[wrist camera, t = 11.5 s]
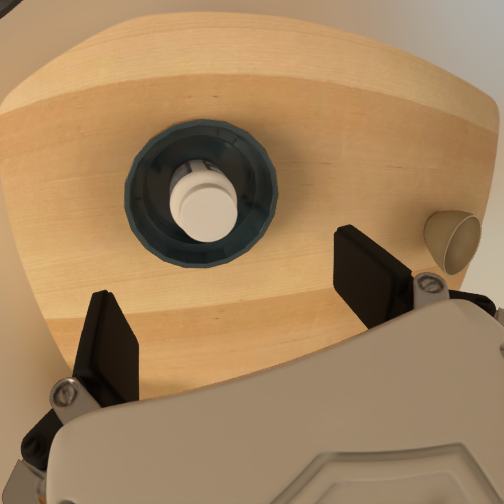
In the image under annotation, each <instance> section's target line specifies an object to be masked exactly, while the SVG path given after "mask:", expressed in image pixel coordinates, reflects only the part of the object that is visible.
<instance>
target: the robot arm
mask: <svg viewBox="0 0 504 504" xmlns="http://www.w3.org/2000/svg"><path fill="white" fill-rule="evenodd" d="M411 272H412V271H411V270H410V269H409V268H407V267H406V266H405V265H404V264H402V263H401V262H400V261H399V260H397V259H396V258H395V257H394V256H392V255H391V254H390V253H389V252H387V251H386V250H385V249H383V248H382V247H381V246H379V245H378V244H377V243H375V242H374V241H373V240H371V239H370V238H369V237H367V236H366V235H365V234H363V233H362V232H361V231H359V230H358V229H357V228H355V227H354V226H353V225H351V224H349V225H345V226H342V227H338V228H337V231H336V232H335V233H334V271H333V285H334V288H335V290H336V291H337V293H338V294H339V295H340V296H341V297H342V298H343V300H344V301H345V302H346V303H347V304H348V306H349V307H350V308H351V309H352V310H353V311H354V313H355V314H356V315H357V316H358V317H359V319H360V320H361V321H362V322H363V323H364V325H365V326H366V327H367V328H368V329H369V330H367V331H364V332H362V333H360V334H357V335H355V336H353V337H350V338H348V339H345V340H343V341H340V342H338V343H335V344H333V345H330V346H328V347H325V348H323V349H320V350H317V351H315V352H312V353H309V354H307V355H304V356H301V357H298V358H295V359H293V360H290V361H287V362H284V363H281V364H278V365H275V366H272V367H269V368H266V369H262V370H259V371H256V372H253V373H249V374H246V375H243V376H239V377H236V378H232V379H229V380H225V381H222V382H218V383H214V384H210V385H206V386H202V387H198V388H194V389H190V390H186V391H182V392H177V393H172V394H168V395H163V396H159V397H154V398H149V399H144V400H139V344H138V341H137V339H136V337H135V335H134V333H133V331H132V330H131V328H130V326H129V324H128V322H127V320H126V318H125V317H124V315H123V313H122V311H121V309H120V307H119V305H118V303H117V301H116V299H115V297H114V295H113V293H112V292H109V293H108V291H107V290H103V291H99V292H95V293H93V294H92V297H91V301H90V304H89V308H88V311H87V315H86V319H85V323H84V327H83V330H82V333H81V337H80V342H79V346H78V350H77V355H76V360H75V365H74V370H73V375H72V377H66V378H63V379H61V380H60V381H58V382H57V383H56V384H55V385H54V386H53V388H52V390H51V393H50V403H51V406H52V409H51V410H50V411H49V412H48V413H47V414H46V415H45V416H44V417H43V418H42V419H41V420H40V421H39V422H38V423H37V424H36V425H35V426H34V427H33V428H32V429H31V430H30V431H29V433H28V434H27V435H26V436H25V437H24V438H23V441H22V443H21V454H22V457H23V460H22V461H21V460H19V459H18V461H17V463H16V466H15V467H14V469H13V471H12V473H11V476H10V478H9V480H8V482H7V484H6V486H5V488H4V490H3V494H2V502H3V504H504V309H502V308H499V309H498V310H496V307H495V304H494V303H493V302H492V301H491V300H490V299H489V298H488V297H486V296H483V295H479V294H473V293H467V292H461V291H455V290H449V289H448V286H447V283H446V281H445V280H444V279H443V278H442V277H440V276H439V275H437V274H434V273H430V272H424V273H420V274H418V275H416V276H415V278H414V277H412V276H411Z"/></svg>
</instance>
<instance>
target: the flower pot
mask: <svg viewBox="0 0 504 504" xmlns="http://www.w3.org/2000/svg"><path fill="white" fill-rule="evenodd" d="M481 232H482V227H481V222H480V219H479V218H478V217H477V216H476V215H473V214H471V213H467V212H462V211H443V212H438V213H435V214H433V215H432V216H431V217H430V218H429V219H428V221H427V223H426V225H425V228H424V238H425V241H426V244H427V247H428V249H429V251H430V253H431V255H432V257H433V258H434V260H435V261H436V263H437V264H438V266H439V267H440V268H441V269H442V270H443V272H444V273H445V274H446V275H448V276H450V277H452V276H456V275H458V274H459V273H461V272H462V271H463V270H464V269H465V268H466V267H467V266H468V265H469V263H470V262H471V260H472V259H473V257H474V255H475V253H476V251H477V249H478V246H479V243H480V239H481Z"/></svg>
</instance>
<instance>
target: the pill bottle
mask: <svg viewBox="0 0 504 504" xmlns="http://www.w3.org/2000/svg"><path fill="white" fill-rule="evenodd" d="M170 210H171V214H172V216H173V218H174V220H175V222H176V223H177V224H178V225H179V226H180V227H181V228H182V229H183V230H184V231H185V232H186V233H187V234H188V235H189V236H190V237H191V238H193V239H195V240H198V241H202V242H213V241H217V240H219V239H221V238H223V237H225V236H226V235H227V234H228V233H229V232H230V231H231V230H232V229H233V227H234V225H235V223H236V220H237V196H236V192H235V189H234V187H233V185H232V183H231V182H230V181H229V179H228V178H227V177H226V176H225V175H224V174H223V173H222V172H221V170H220V169H219V168H218V167H217V166H215V165H214V164H213V163H211V162H209V161H205V160H191V161H188V162H185V163H183V164H182V165H180V166H179V167H178V168H177V169H176V170H175V172H174V173H173V175H172V177H171V181H170Z"/></svg>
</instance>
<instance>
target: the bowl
mask: <svg viewBox="0 0 504 504" xmlns="http://www.w3.org/2000/svg"><path fill="white" fill-rule="evenodd" d="M191 160H205V161H209V162H211V163H213V164H214V165H215V166H217V167H218V168H219V169H220V170H221V172H222V173H223V174H224V175H225V176H226V177H227V178H228V179H229V181H230V182H231V183H232V185H233V187H234V189H235V192H236V196H237V220H236V223H235V225H234V227H233V229H232V230H231V231H230V232H229V233H228V234H227V235H226V236H225V237H223V238H221V239H219V240H217V241H213V242H202V241H198V240H195V239H193V238H191V237H190V236H189V235H188V234H187V233H186V232H185V231H184V230H183V229H182V228H181V227H180V226H179V225H178V224H177V223H176V222H175V220H174V218H173V216H172V214H171V210H170V181H171V177H172V175H173V173H174V172H175V170H176V169H177V168H178V167H179V166H180V165H182V164H183V163H185V162H188V161H191ZM277 199H278V184H277V176H276V170H275V168H274V166H273V164H272V162H271V160H270V158H269V155H268V153H267V151H266V150H265V148H264V147H263V146H262V145H261V144H260V143H259V142H258V141H257V140H256V139H255V138H254V137H253V136H252V135H250V134H249V133H248V132H246V131H244V130H242V129H240V128H238V127H236V126H234V125H232V124H230V123H227V122H224V121H215V120H206V119H192V120H187V121H183V122H179V123H175V124H172V125H171V126H169V127H167V128H166V129H164V130H162V131H161V132H159V133H158V134H156V135H154V136H153V137H152V138H151V139H150V140H149V141H148V143H147V144H146V145H145V146H144V147H143V149H142V150H141V151H140V152H139V153H138V155H137V156H136V157H135V158H134V160H133V162H132V165H131V168H130V170H129V173H128V176H127V178H126V181H125V191H124V209H125V212H126V215H127V218H128V221H129V224H130V227H131V230H132V232H133V233H134V234H135V236H136V237H137V238H138V240H139V241H140V242H141V244H142V245H143V246H144V248H146V249H147V250H148V251H150V252H151V253H152V254H154V255H155V256H157V257H158V258H160V259H161V260H163V261H164V262H168V263H171V264H174V265H177V266H180V267H183V268H210V267H214V266H218V265H222V264H226V263H229V262H231V261H232V260H234V259H236V258H238V257H239V256H241V255H243V254H244V253H246V252H248V251H249V250H250V249H251V248H252V247H253V246H254V245H255V244H256V243H257V242H258V241H259V240H260V239H261V238H262V237H263V235H264V234H265V232H266V230H267V228H268V226H269V224H270V223H271V221H272V219H273V217H274V214H275V209H276V204H277Z"/></svg>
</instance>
